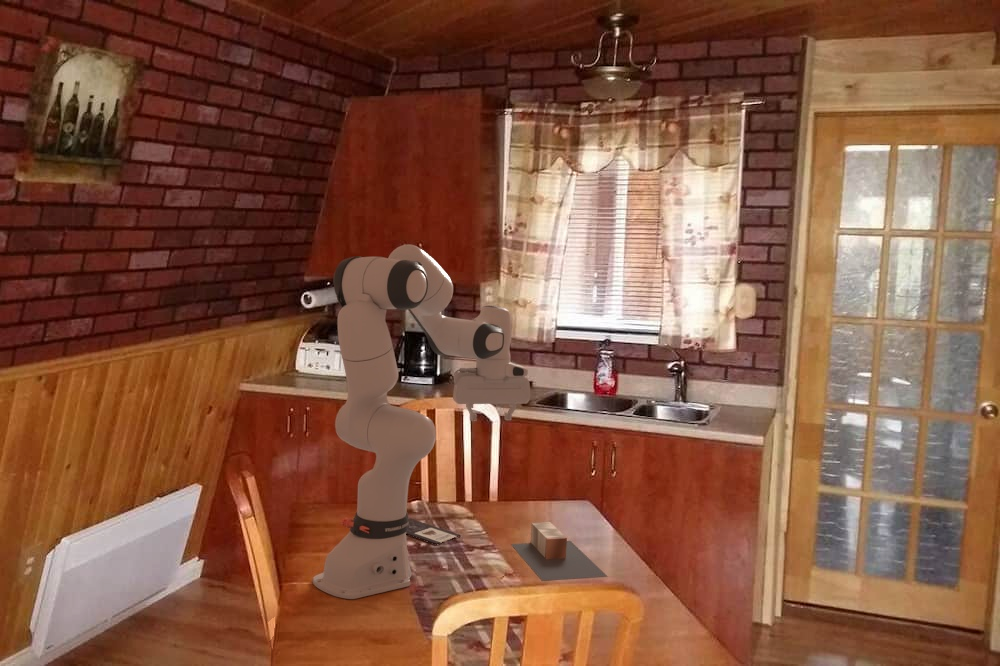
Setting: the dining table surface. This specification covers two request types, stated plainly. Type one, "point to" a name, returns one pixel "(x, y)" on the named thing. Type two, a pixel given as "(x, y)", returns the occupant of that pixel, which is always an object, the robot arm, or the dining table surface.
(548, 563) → the rubber mat
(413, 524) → the chocolate bar
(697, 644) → the dining table surface
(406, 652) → the dining table surface
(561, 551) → the ash block
